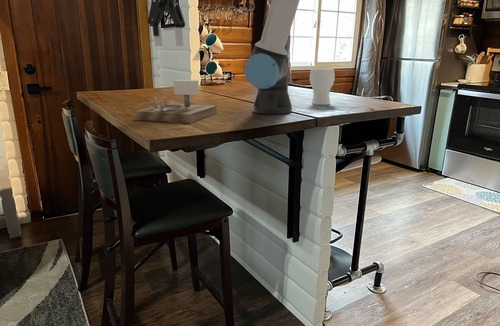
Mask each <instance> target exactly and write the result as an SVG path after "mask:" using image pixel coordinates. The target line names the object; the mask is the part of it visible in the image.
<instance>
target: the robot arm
mask: <svg viewBox="0 0 500 326" xmlns="http://www.w3.org/2000/svg"><path fill="white" fill-rule="evenodd" d="M150 1H151V2H150V7H149V12H148V17H147V18H148V19H147V23H148V25H149V27H152V34H153V38H154V39H153V40H154V47H163V46H164V45H163V34H162V26H160V24H161V21H162V18H163V17H164V13H165V12H167V13H168V14H169V16H170V18H171V20H172V22H173V24H174V25H175V27H174V35H175V36H174V38H175V46H176V47H183V46H184V38H183V35H184V34H183V28H185V26H186V22H185V18H184V16H183V13H182V10H181V9H182V8H181V6H180V0H150ZM299 3H300V0H271V3H270V6H269V10H268V15H267V17H266V21H265V24H264V28H263V31H262V34H261V38H260V40H259V41H257V42H255V44H254V45H253V48H252V49H253V50H252V53H251V55H250V57H249V58H248V60H247V61H246V63H245V65H244V74H245V78H246V80H247V82H248V83H249V84H250V85H251V86H252V87H254V88H257V93H256V95H255V99H254V103H253V107H252V111H253V113H256V114H261V115H283V114H284V115H285V114H289V113H291V112H293V104H292V101H291V99H290V95H289V89H288V88H289V83H288V82H289V59H290V58H289V53H288V51H287V50H286V45H287V42H288V38H289V35H290V32H291V29H292V26H293V23H294V19H295V16H296V13H297V11H298V6H299Z"/></svg>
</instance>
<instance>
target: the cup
mask: <svg viewBox="0 0 500 326" xmlns="http://www.w3.org/2000/svg"><path fill="white" fill-rule="evenodd" d="M335 75H336V74H335V69H334V68H331V67H330V68H329V67H325V68H324V67H323V68H321V67H317V68H311V69H310V73H309V83H310V86H311V87H312V93H313V96H312V101H311V104H312V105H316V106H325V105H326V106H327V105H330V104H331V99H330V93H331V89H332V87H333V85H334V83H335V77H336V76H335Z"/></svg>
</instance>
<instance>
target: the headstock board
mask: <svg viewBox="0 0 500 326" xmlns="http://www.w3.org/2000/svg"><path fill="white" fill-rule="evenodd" d="M167 104H173V105H181V107H172V106H163V99H162V100H161V99H160V100H159V105H158V103H157V97H153V106H151V107H146V108H142V109H139V110H136V111H135V116H136V120H138V121H139V120H141V121H154V122H167V121H168V122H169V123H170V122H171V123H182V124H183V123H184V124H192V123H194V122H197V121H200V120H203V119H205V118H208V117H210V116H214V115H217V114H218V113H217V112H218V111H217V105H209V104H207V105H206V104H191V103H190V107H185V105H184V103H171V102H170V103H168V102H167Z"/></svg>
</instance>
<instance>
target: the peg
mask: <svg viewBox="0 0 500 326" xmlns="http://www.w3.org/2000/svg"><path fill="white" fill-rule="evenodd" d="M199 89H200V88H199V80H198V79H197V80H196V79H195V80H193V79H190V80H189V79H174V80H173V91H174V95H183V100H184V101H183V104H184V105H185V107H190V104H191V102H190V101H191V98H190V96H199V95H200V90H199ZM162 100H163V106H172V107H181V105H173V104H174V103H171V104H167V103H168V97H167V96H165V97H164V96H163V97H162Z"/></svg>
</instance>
